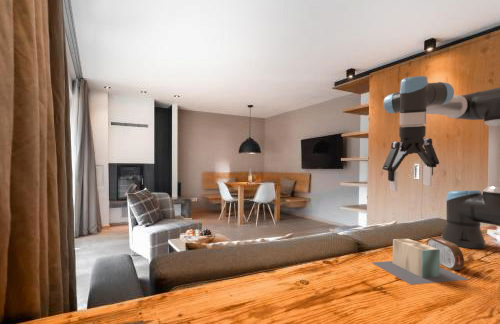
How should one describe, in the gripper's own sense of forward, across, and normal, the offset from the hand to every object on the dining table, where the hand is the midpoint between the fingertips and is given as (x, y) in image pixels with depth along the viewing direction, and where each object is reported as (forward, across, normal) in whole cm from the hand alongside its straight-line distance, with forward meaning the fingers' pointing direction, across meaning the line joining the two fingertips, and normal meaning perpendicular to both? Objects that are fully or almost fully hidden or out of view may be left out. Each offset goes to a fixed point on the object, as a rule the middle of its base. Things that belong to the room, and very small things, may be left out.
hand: (410, 187), depth 94 cm
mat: (+24, +7, +11) cm, 27 cm away
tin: (+26, -7, +8) cm, 28 cm away
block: (+20, +7, +4) cm, 22 cm away
